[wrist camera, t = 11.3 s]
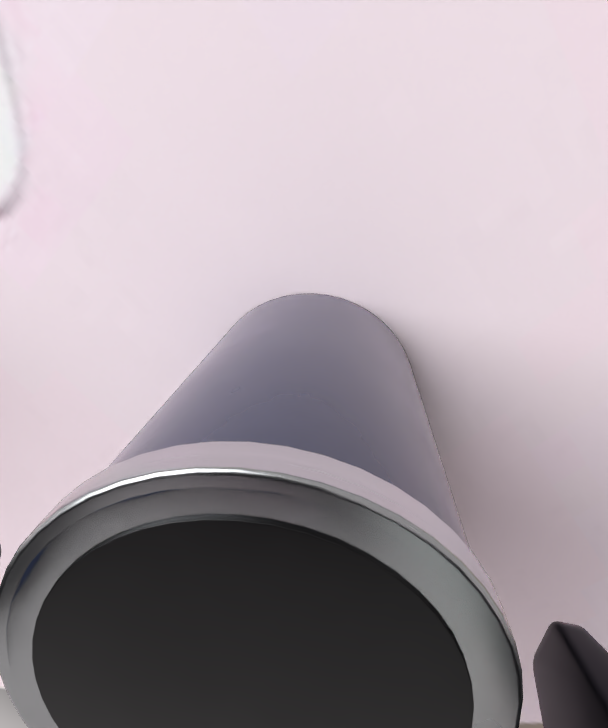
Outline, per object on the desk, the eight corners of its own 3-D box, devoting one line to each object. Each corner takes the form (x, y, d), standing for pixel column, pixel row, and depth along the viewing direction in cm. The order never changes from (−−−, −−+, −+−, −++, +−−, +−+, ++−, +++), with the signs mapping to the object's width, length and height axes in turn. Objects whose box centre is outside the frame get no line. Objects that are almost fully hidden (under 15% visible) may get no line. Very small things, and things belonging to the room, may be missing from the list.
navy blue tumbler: (443, 308, 13) (618, 539, 4) (393, 500, 15) (445, 902, 7) (214, 270, 13) (-43, 418, 5) (199, 465, 15) (7, 806, 7)
